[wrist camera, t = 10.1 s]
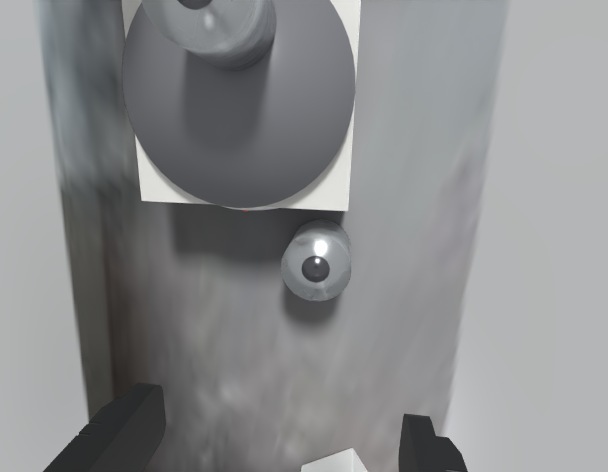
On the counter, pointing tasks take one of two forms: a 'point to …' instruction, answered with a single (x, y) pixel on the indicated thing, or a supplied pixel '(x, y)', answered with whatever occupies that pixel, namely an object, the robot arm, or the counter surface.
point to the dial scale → (247, 113)
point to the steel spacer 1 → (217, 28)
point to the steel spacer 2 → (317, 261)
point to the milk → (337, 463)
